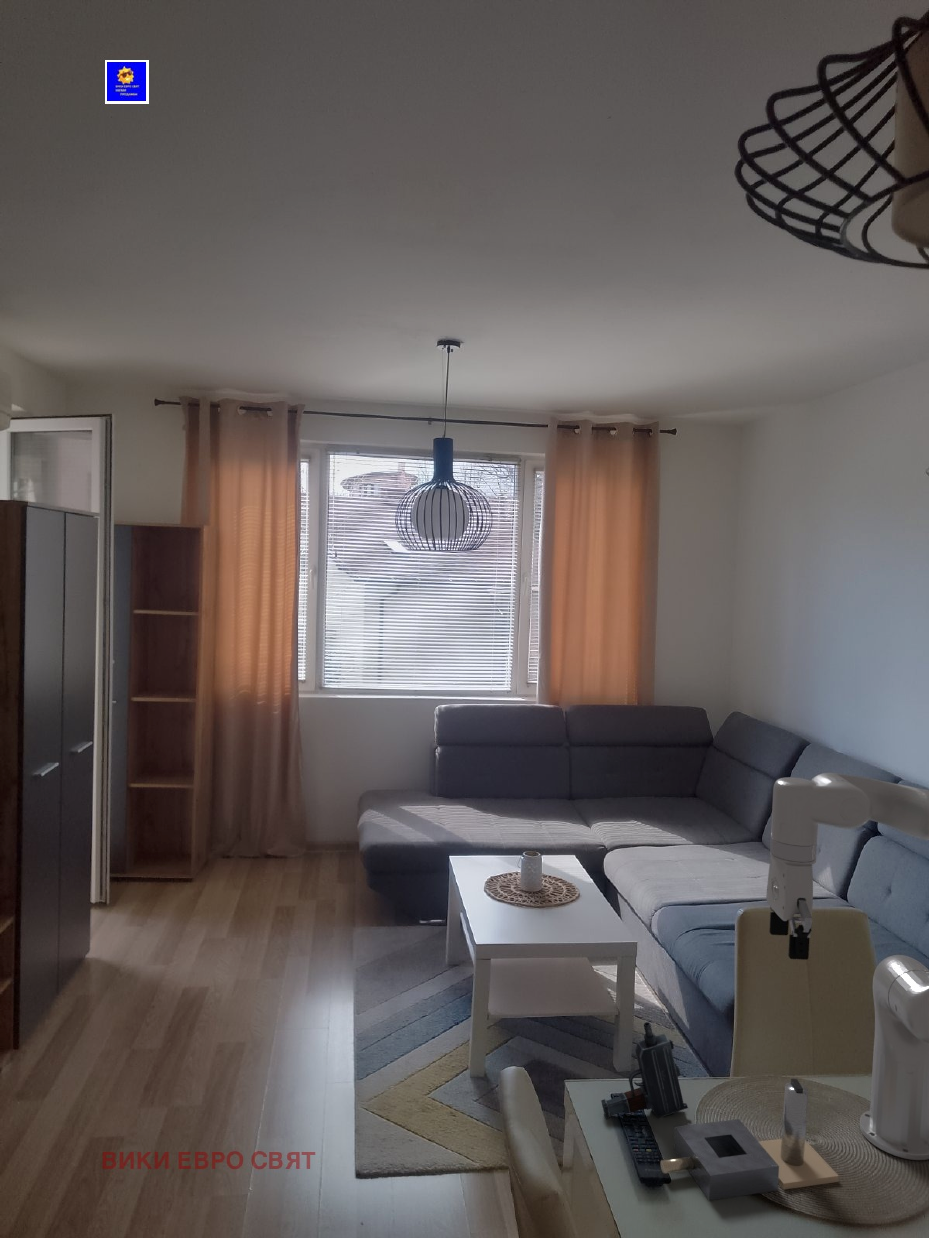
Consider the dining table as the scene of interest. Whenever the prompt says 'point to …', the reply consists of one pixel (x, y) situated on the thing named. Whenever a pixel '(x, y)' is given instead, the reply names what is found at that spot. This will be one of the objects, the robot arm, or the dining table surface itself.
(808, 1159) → the pad
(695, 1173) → the block
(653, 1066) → the gun
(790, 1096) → the silver metal rod
